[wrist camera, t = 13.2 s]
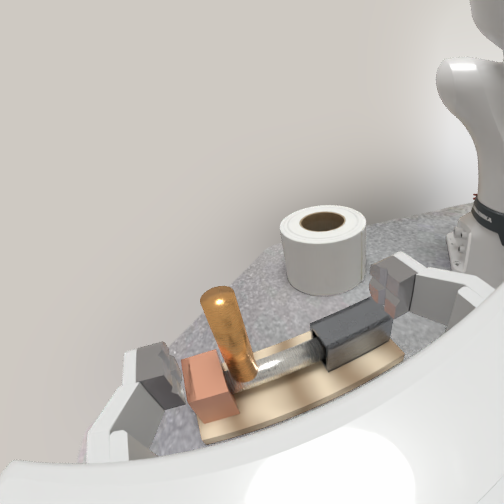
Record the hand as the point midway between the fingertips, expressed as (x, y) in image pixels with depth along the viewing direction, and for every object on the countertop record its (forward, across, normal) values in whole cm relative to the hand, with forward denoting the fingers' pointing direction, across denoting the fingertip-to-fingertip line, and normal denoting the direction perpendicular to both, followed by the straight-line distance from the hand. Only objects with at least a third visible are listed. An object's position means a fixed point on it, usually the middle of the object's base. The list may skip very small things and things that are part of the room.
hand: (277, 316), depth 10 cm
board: (+13, -4, +24) cm, 28 cm away
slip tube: (+13, -1, +22) cm, 26 cm away
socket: (+13, +7, +23) cm, 27 cm away
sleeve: (+13, -12, +23) cm, 29 cm away
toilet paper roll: (+33, -19, +25) cm, 45 cm away
